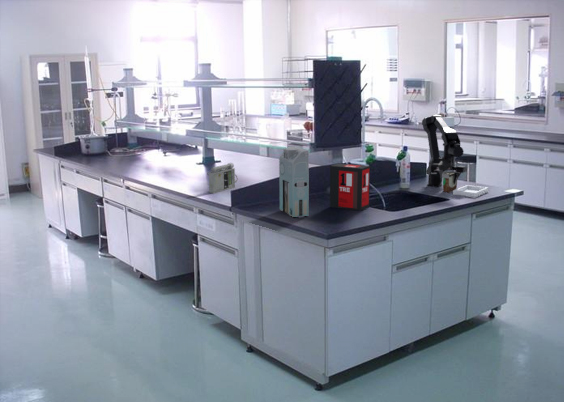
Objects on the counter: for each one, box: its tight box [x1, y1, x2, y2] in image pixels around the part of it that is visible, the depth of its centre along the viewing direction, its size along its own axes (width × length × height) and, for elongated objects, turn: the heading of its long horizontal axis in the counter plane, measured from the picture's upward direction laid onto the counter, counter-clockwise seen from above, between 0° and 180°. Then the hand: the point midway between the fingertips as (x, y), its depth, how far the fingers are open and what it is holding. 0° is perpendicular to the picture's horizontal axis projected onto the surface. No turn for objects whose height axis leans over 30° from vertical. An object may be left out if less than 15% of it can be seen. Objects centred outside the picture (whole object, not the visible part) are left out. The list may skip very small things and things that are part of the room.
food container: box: [442, 170, 458, 194], centre depth 339 cm, size 12×6×10 cm, turn 141°
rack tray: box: [452, 184, 489, 199], centre depth 332 cm, size 12×18×2 cm, turn 142°
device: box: [278, 145, 310, 218], centre depth 288 cm, size 16×8×30 cm, turn 21°
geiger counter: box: [206, 162, 239, 194], centre depth 348 cm, size 14×6×25 cm
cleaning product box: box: [329, 162, 371, 212], centre depth 302 cm, size 16×9×20 cm, turn 58°
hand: (447, 183), depth 340 cm, fingers open, 7 cm apart
